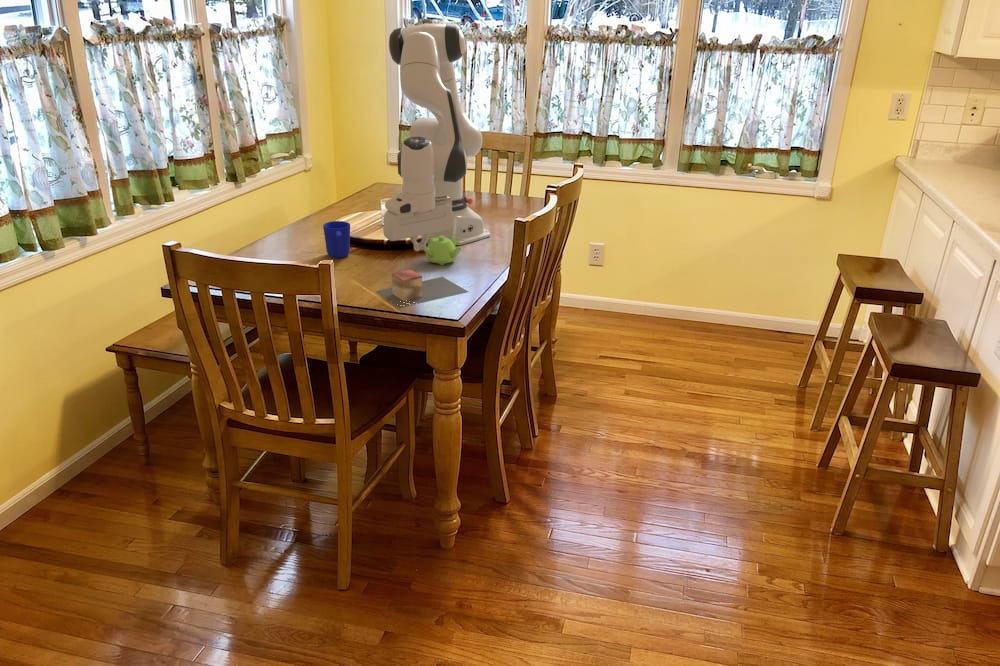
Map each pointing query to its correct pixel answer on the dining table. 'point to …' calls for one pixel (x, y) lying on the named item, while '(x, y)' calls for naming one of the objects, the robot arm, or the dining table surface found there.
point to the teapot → (442, 250)
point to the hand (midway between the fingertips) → (420, 249)
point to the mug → (337, 238)
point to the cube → (407, 285)
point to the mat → (426, 292)
